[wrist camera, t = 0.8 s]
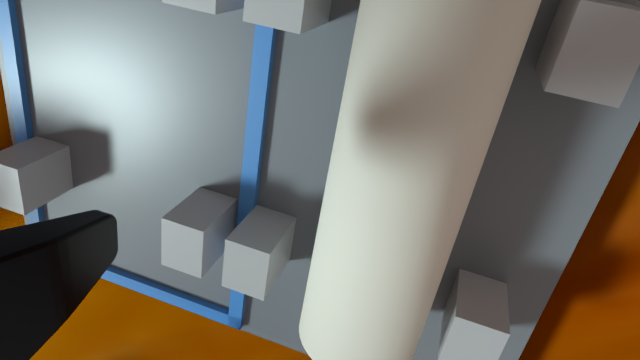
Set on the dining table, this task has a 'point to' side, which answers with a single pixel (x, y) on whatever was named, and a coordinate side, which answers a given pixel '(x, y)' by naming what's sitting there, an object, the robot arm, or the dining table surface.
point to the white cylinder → (405, 166)
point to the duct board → (297, 152)
